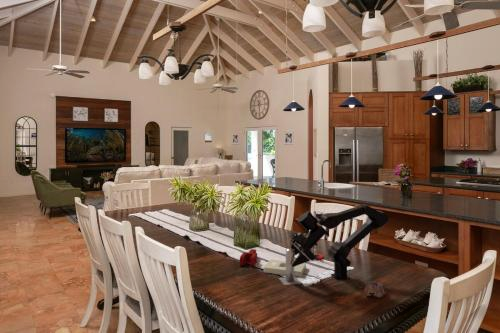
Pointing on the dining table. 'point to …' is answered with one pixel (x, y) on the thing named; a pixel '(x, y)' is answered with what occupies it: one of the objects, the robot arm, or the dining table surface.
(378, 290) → the skull
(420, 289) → the dining table surface
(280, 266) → the hole board
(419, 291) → the dining table surface
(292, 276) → the steel pin
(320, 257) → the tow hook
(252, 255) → the mechanical linkage
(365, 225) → the robot arm
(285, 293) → the dining table surface
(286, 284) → the pad
